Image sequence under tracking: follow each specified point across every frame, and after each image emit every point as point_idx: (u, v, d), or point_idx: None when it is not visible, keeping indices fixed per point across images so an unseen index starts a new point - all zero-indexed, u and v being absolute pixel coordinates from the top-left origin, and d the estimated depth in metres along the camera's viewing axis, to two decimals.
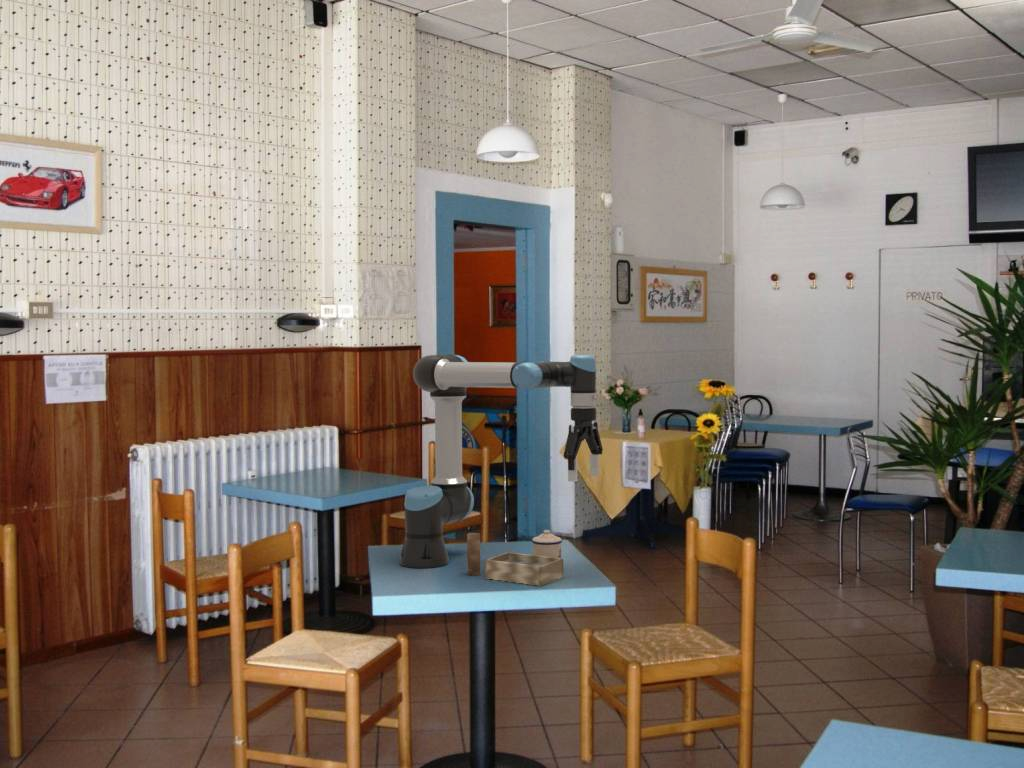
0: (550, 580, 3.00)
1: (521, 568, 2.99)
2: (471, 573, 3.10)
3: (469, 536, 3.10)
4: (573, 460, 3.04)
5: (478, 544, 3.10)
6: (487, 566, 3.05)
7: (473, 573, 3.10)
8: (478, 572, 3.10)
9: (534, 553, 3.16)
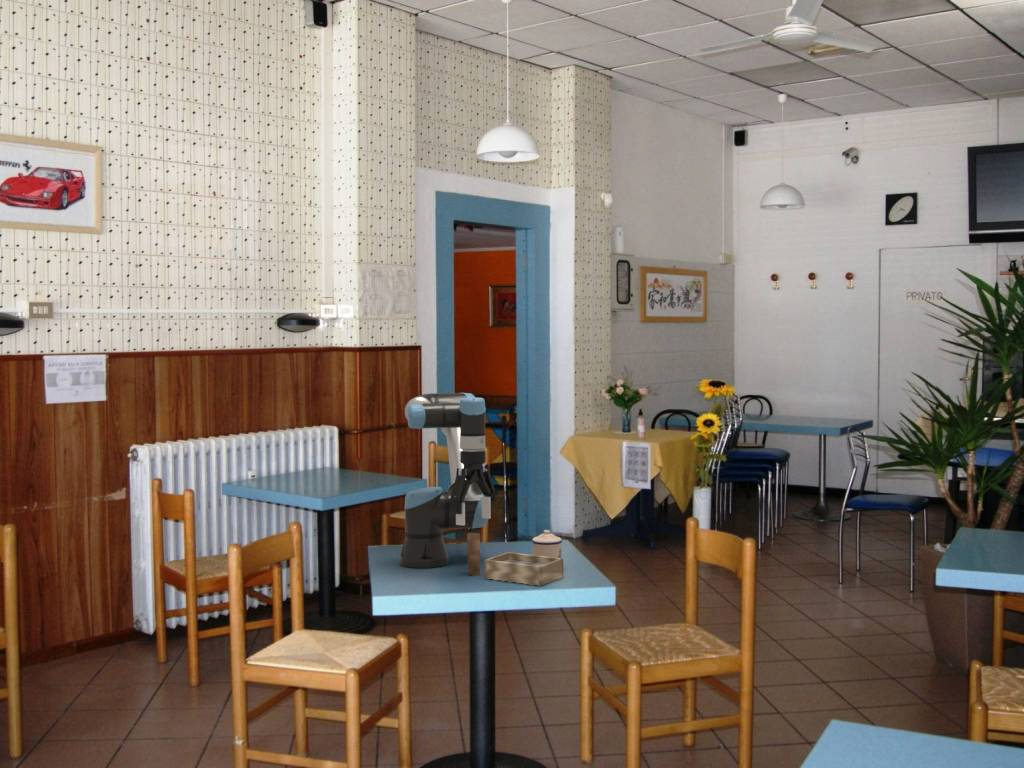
0: (550, 580, 3.00)
1: (521, 568, 2.99)
2: (471, 573, 3.10)
3: (469, 536, 3.10)
4: (460, 504, 3.03)
5: (478, 544, 3.10)
6: (487, 566, 3.05)
7: (473, 573, 3.10)
8: (478, 572, 3.10)
9: (534, 553, 3.16)
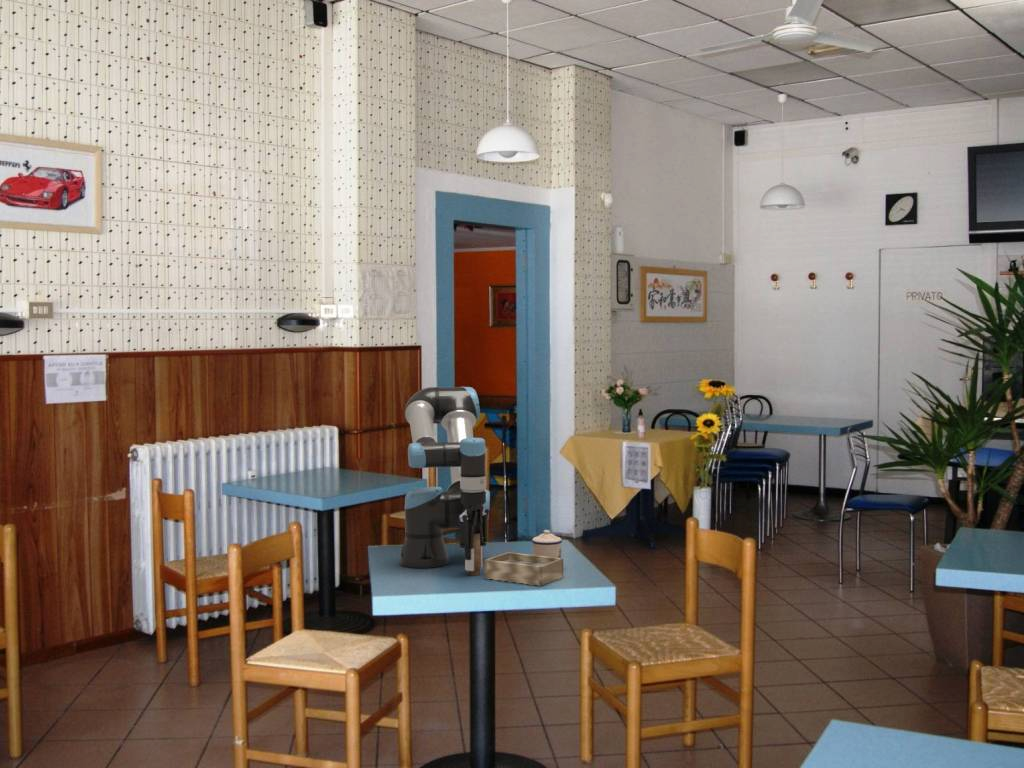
0: (550, 580, 3.00)
1: (521, 568, 2.99)
2: (471, 573, 3.10)
3: None
4: (470, 549, 3.09)
5: (478, 544, 3.10)
6: (487, 566, 3.05)
7: (473, 573, 3.10)
8: (478, 572, 3.10)
9: (534, 553, 3.16)
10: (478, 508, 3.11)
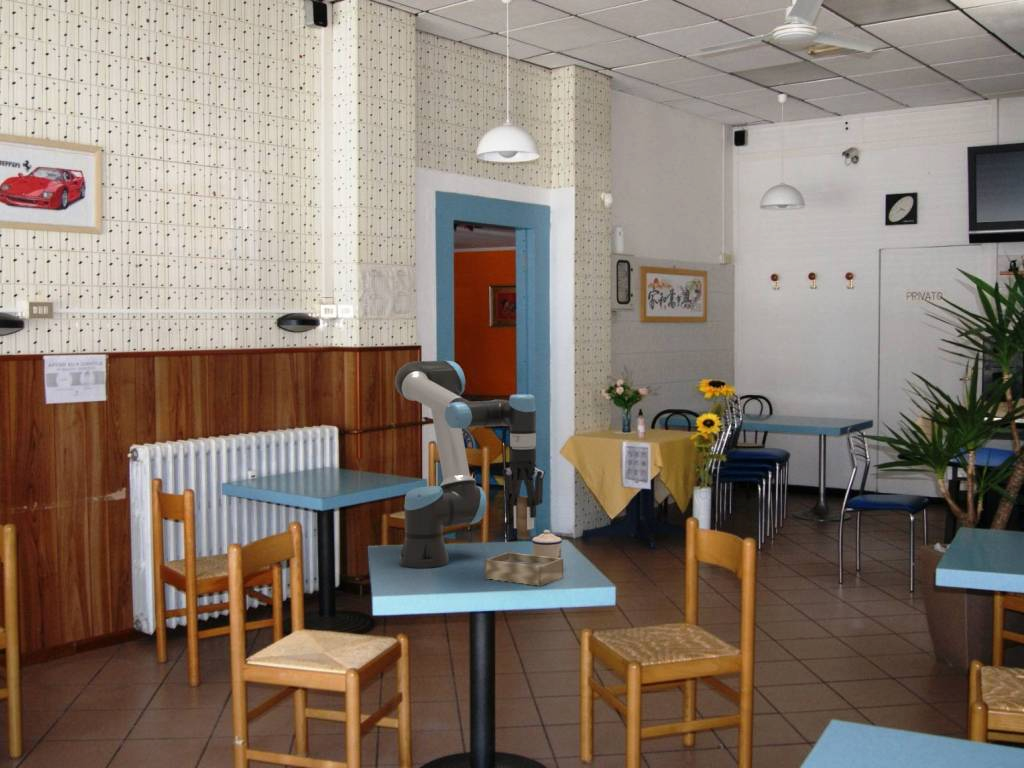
0: (550, 580, 3.00)
1: (521, 568, 2.99)
2: None
3: None
4: (514, 506, 3.06)
5: (519, 507, 3.03)
6: (487, 566, 3.05)
7: (517, 536, 3.05)
8: (519, 536, 3.04)
9: (534, 553, 3.16)
10: (524, 467, 3.03)
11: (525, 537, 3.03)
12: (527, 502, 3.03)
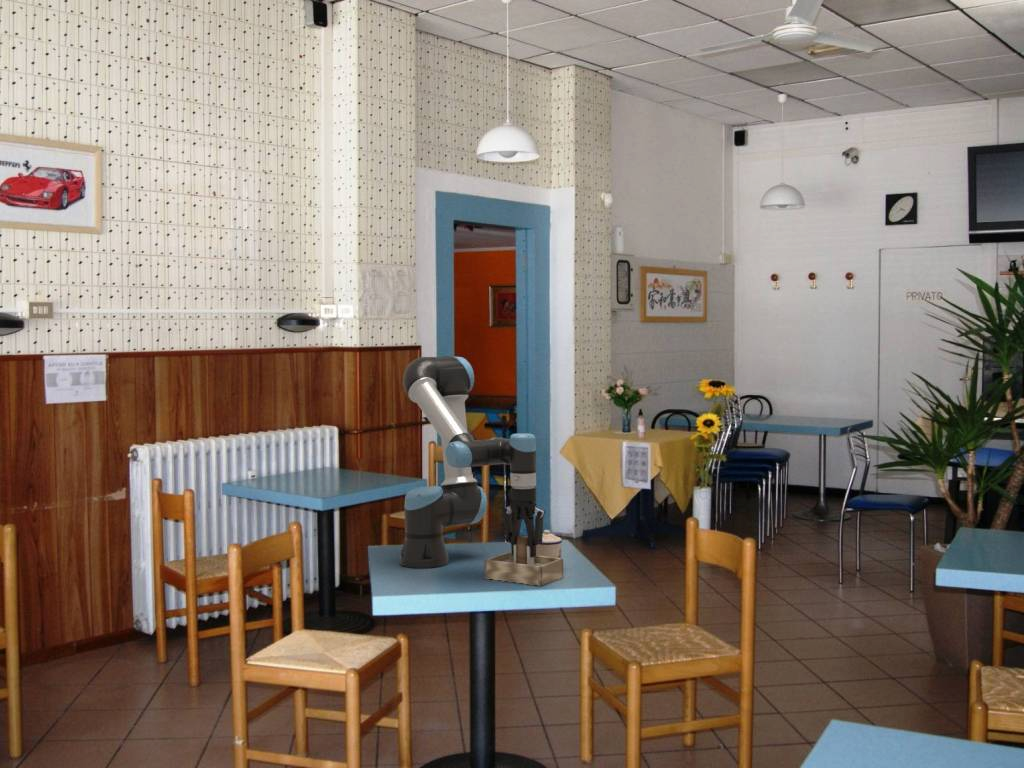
0: (550, 580, 3.00)
1: (521, 568, 2.99)
2: None
3: None
4: (514, 544, 3.06)
5: (519, 548, 3.04)
6: (487, 566, 3.05)
7: None
8: None
9: None
10: (524, 506, 3.03)
11: None
12: (527, 543, 3.04)
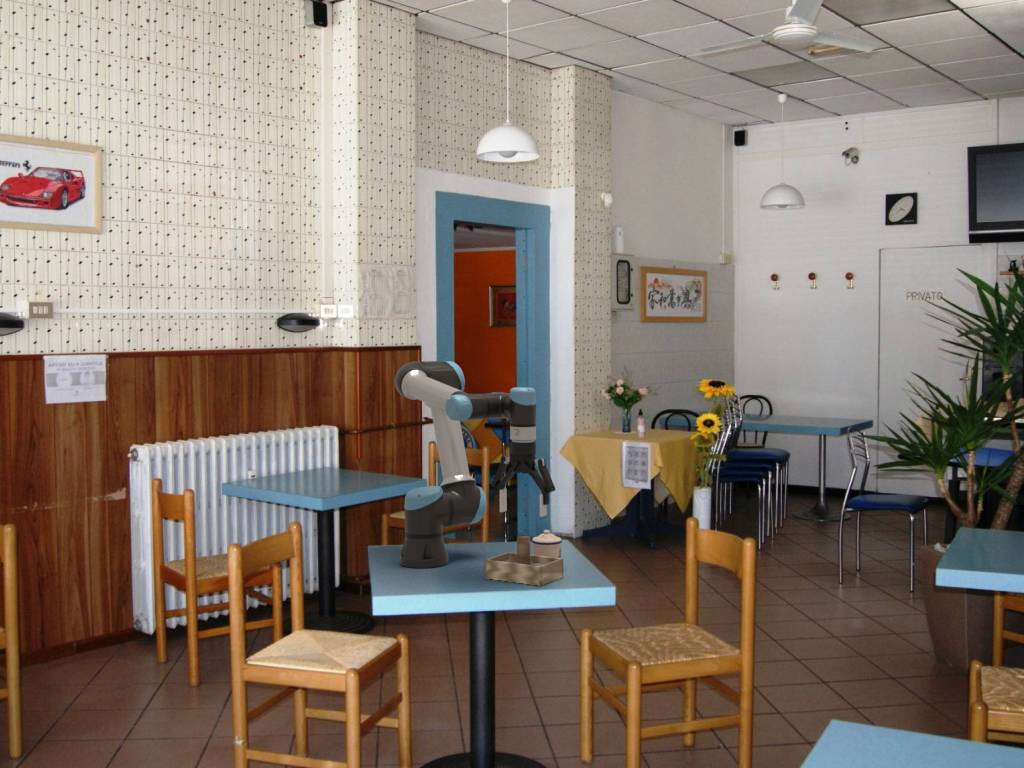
0: (550, 580, 3.00)
1: (521, 568, 2.99)
2: None
3: None
4: (499, 490, 3.08)
5: (519, 548, 3.04)
6: (487, 566, 3.05)
7: None
8: None
9: (534, 553, 3.16)
10: None
11: None
12: (527, 543, 3.04)
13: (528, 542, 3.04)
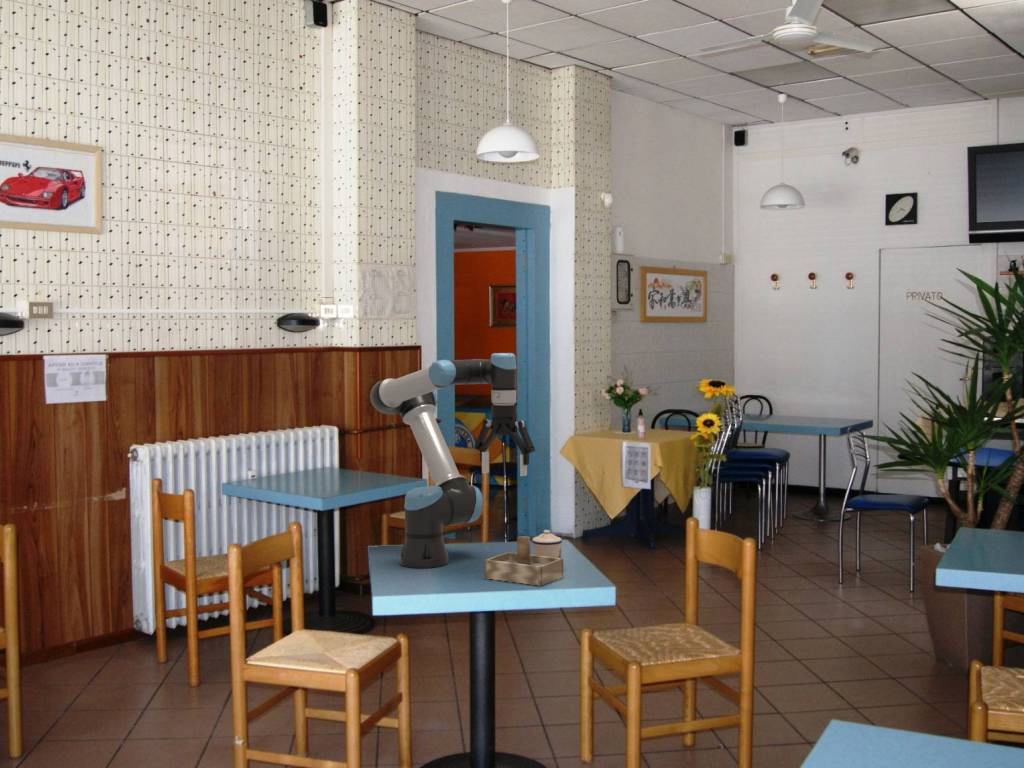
0: (550, 580, 3.00)
1: (521, 568, 2.99)
2: None
3: None
4: (481, 452, 3.21)
5: (519, 548, 3.04)
6: (487, 566, 3.05)
7: None
8: None
9: (534, 553, 3.16)
10: None
11: None
12: (527, 542, 3.04)
13: (528, 542, 3.04)
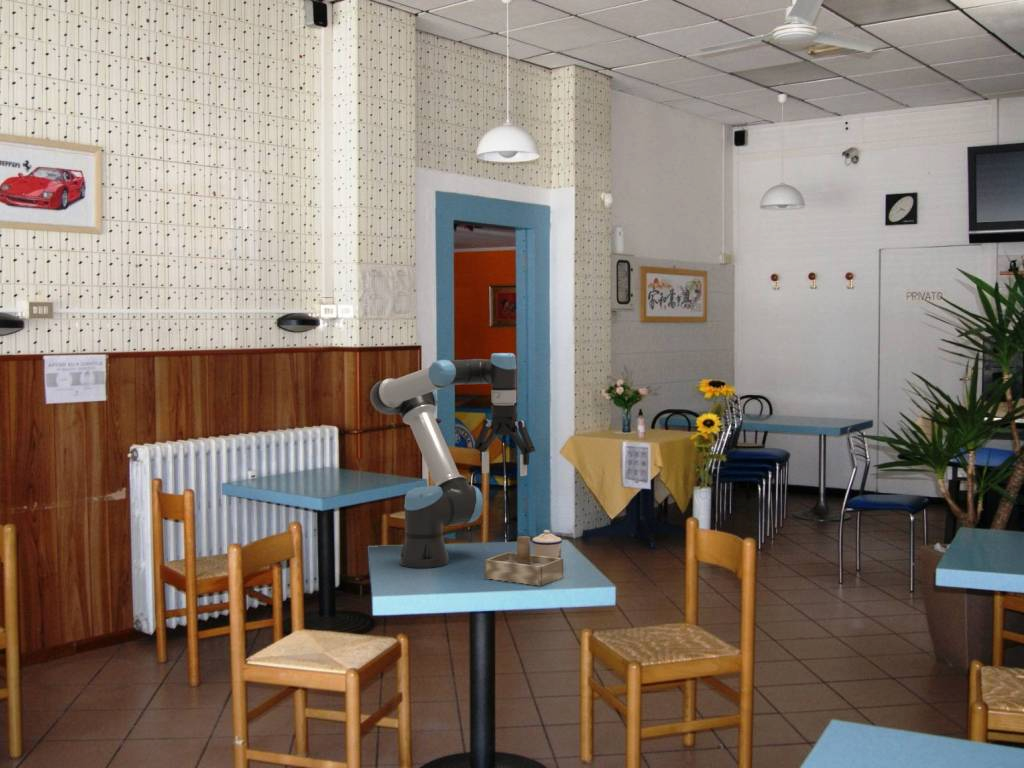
0: (550, 580, 3.00)
1: (521, 568, 2.99)
2: None
3: None
4: (481, 452, 3.21)
5: (519, 548, 3.04)
6: (487, 566, 3.05)
7: None
8: None
9: (534, 553, 3.16)
10: None
11: None
12: (527, 542, 3.04)
13: (528, 542, 3.04)
